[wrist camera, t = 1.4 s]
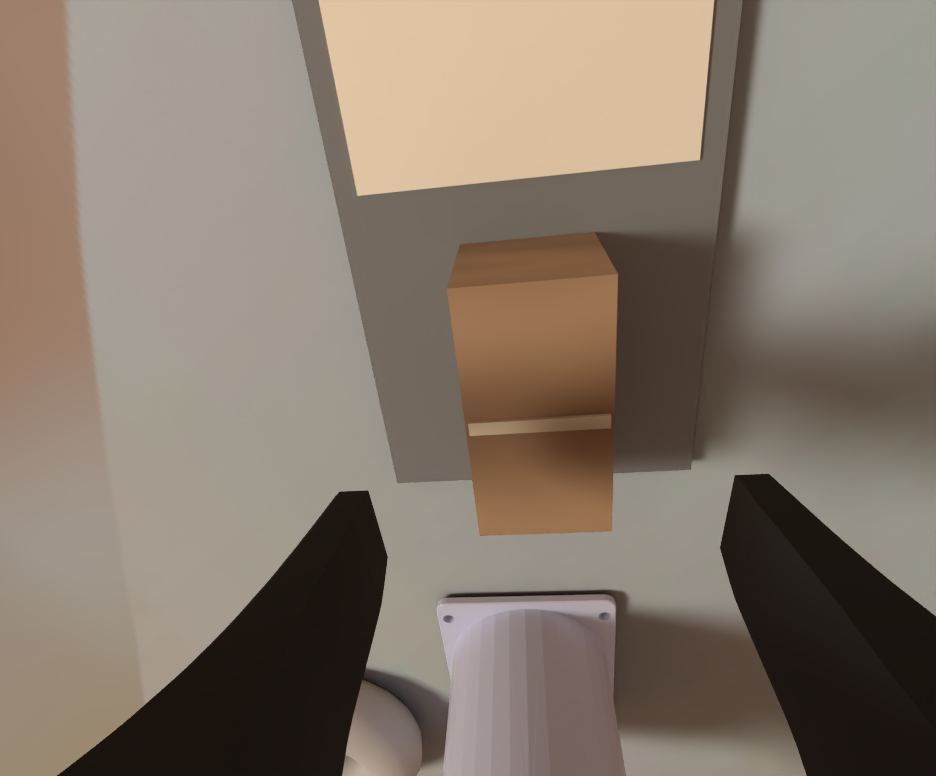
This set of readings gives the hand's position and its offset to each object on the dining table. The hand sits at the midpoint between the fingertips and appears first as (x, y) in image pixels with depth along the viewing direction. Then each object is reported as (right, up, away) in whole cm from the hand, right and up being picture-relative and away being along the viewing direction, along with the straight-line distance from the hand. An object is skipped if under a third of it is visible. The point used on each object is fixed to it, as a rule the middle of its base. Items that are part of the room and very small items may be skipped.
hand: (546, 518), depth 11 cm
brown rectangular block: (+1, +4, +7) cm, 8 cm away
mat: (0, +7, +6) cm, 9 cm away
